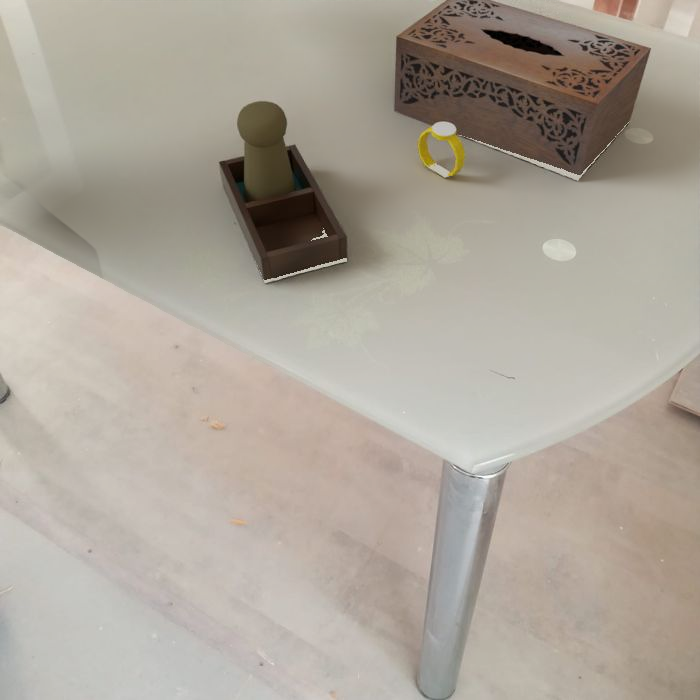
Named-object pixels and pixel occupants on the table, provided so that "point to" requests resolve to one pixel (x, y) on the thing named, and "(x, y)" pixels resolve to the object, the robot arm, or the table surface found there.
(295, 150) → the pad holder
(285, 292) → the table surface
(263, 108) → the olive peg doll
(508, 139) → the tissue box cover
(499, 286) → the table surface
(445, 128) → the watch
